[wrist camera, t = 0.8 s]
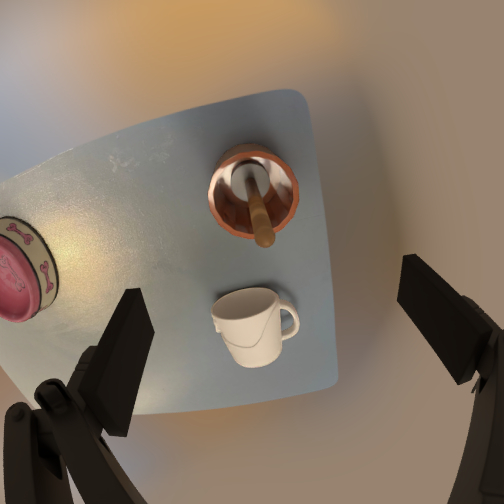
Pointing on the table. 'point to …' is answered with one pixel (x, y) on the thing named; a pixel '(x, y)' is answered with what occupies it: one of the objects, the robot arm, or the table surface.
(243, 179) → the toilet plunger
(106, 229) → the table surface
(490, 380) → the robot arm
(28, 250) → the dog bowl
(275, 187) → the crock
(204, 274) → the table surface
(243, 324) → the mug
